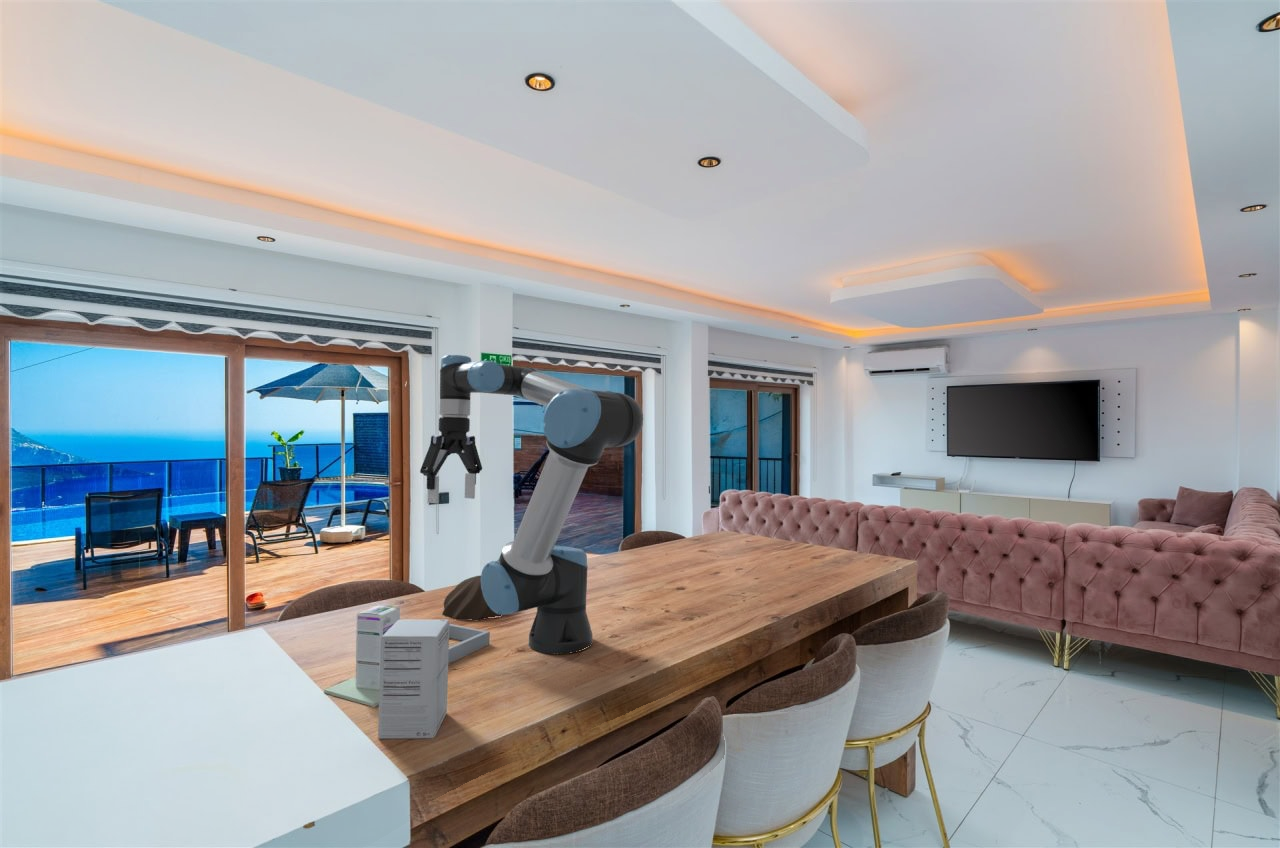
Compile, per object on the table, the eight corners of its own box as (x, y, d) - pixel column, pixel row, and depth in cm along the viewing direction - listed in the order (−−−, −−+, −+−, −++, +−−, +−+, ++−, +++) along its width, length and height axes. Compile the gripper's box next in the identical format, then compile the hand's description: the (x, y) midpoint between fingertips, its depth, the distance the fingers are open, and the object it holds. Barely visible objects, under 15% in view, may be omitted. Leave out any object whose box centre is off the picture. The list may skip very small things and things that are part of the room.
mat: (426, 681, 123) (426, 678, 123) (374, 707, 111) (374, 703, 111) (379, 669, 129) (379, 667, 129) (324, 692, 117) (324, 689, 117)
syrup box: (380, 691, 117) (383, 614, 117) (353, 687, 118) (356, 611, 118) (399, 680, 122) (401, 606, 122) (373, 676, 124) (375, 604, 124)
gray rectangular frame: (489, 644, 146) (489, 631, 146) (417, 678, 125) (417, 663, 125) (440, 634, 152) (440, 622, 152) (363, 664, 131) (364, 650, 131)
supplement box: (394, 713, 109) (397, 618, 110) (447, 712, 110) (450, 618, 110) (376, 740, 100) (379, 635, 100) (434, 739, 100) (437, 635, 101)
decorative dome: (515, 601, 185) (515, 567, 185) (511, 621, 165) (512, 583, 165) (448, 602, 182) (449, 568, 182) (436, 622, 162) (437, 584, 162)
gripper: (474, 418, 169) (472, 495, 169) (406, 414, 146) (403, 504, 146) (497, 418, 166) (494, 497, 166) (430, 414, 143) (428, 506, 143)
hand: (451, 500), depth 156 cm, fingers open, 13 cm apart
